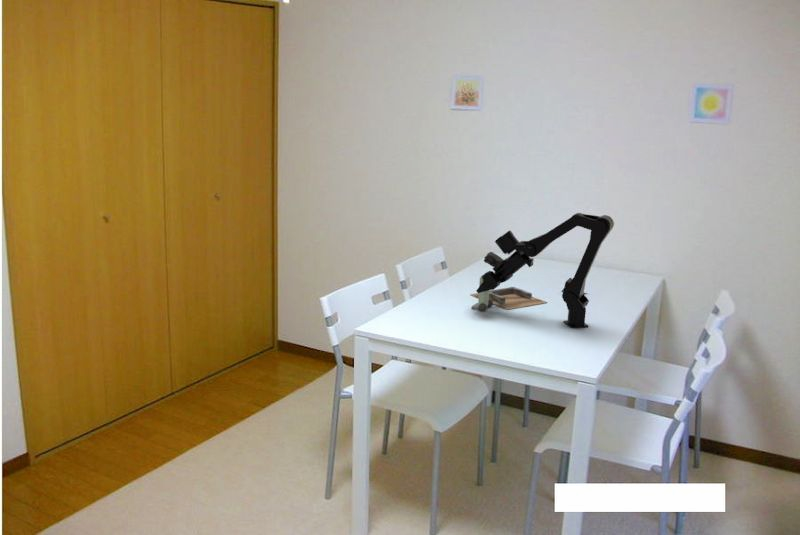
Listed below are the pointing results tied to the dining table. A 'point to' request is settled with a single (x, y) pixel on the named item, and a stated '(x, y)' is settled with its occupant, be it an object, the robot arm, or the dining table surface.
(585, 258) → the robot arm
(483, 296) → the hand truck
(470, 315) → the dining table surface
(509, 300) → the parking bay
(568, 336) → the dining table surface
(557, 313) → the dining table surface
